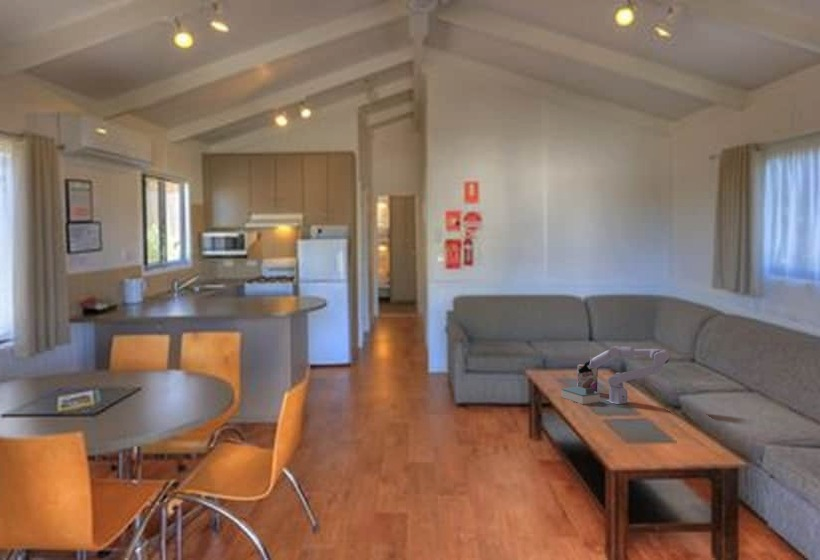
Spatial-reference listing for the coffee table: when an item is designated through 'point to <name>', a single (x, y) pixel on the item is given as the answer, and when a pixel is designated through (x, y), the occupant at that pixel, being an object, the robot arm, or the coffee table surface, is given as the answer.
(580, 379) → the candy bar box
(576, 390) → the carton lid
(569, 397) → the carton
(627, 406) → the coffee table surface
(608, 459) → the coffee table surface
